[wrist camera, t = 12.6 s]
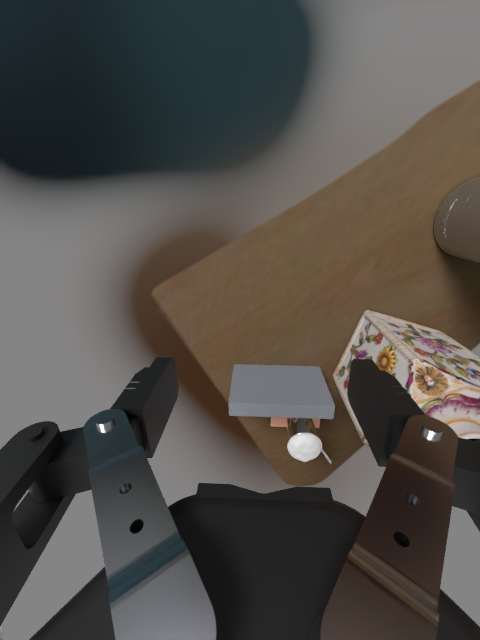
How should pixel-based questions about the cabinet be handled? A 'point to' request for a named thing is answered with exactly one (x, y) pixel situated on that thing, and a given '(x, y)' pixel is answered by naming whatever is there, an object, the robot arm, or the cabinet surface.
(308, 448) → the milkshake
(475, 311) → the cabinet surface
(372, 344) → the decorative jar
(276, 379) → the screen
